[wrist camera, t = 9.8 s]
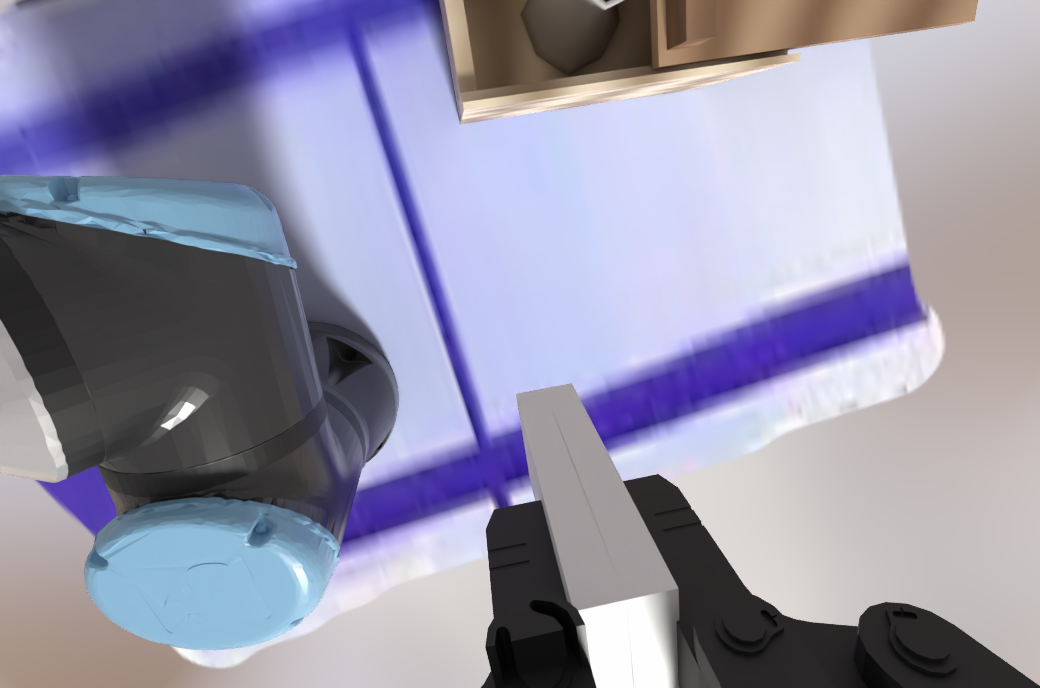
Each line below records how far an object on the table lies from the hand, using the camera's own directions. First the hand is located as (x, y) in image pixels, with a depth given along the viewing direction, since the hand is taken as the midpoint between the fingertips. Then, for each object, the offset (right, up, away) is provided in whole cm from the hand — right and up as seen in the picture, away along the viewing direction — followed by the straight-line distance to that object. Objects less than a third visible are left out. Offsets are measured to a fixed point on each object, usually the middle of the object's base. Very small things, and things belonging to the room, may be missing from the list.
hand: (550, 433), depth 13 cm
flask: (+3, +27, +24) cm, 37 cm away
